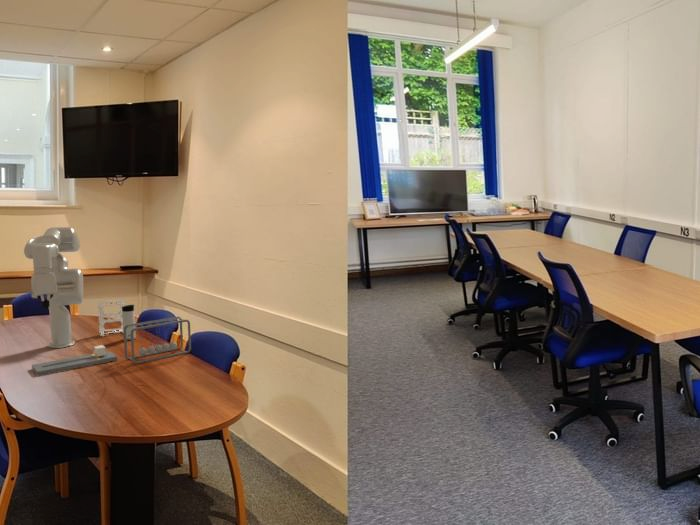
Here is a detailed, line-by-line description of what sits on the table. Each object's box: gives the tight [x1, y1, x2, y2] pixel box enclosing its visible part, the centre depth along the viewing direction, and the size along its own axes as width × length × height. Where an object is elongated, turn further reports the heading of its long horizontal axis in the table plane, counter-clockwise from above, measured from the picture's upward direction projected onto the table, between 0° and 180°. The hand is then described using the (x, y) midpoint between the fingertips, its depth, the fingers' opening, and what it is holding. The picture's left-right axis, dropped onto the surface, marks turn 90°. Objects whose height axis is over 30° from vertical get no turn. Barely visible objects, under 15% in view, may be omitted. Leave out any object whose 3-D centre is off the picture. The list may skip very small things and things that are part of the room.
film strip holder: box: [97, 299, 126, 337], centre depth 300 cm, size 14×14×20 cm
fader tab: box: [93, 344, 107, 357], centre depth 249 cm, size 5×4×4 cm
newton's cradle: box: [123, 316, 192, 365], centre depth 254 cm, size 30×10×18 cm, turn 134°
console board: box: [31, 350, 118, 377], centre depth 242 cm, size 13×34×2 cm, turn 132°
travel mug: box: [122, 304, 137, 342], centre depth 286 cm, size 6×7×20 cm
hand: (45, 308), depth 240 cm, fingers closed
